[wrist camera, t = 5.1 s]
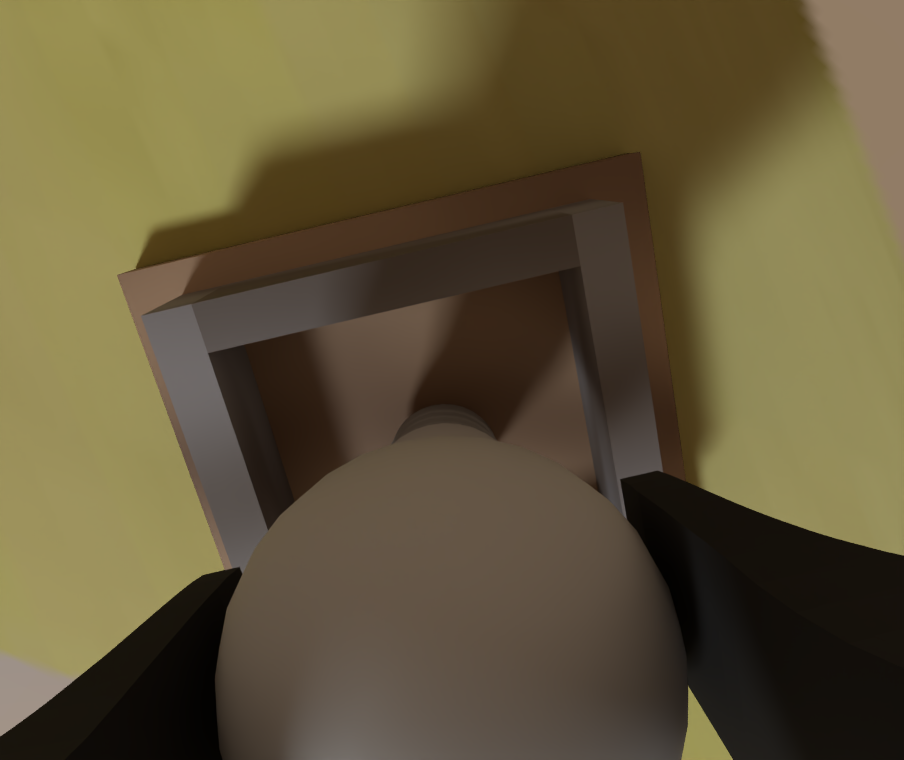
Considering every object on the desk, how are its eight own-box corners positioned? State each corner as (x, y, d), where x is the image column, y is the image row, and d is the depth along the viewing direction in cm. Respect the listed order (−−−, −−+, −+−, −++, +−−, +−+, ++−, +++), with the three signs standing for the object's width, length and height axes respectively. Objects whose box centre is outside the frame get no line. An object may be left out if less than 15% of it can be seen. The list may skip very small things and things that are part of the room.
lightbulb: (399, 270, 16) (328, 472, 5) (617, 401, 17) (921, 788, 6) (275, 480, 17) (25, 969, 7) (482, 589, 18) (548, 1159, 8)
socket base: (684, 554, 19) (741, 632, 16) (270, 649, 20) (241, 746, 16) (626, 153, 16) (682, 147, 13) (134, 269, 16) (62, 292, 13)
